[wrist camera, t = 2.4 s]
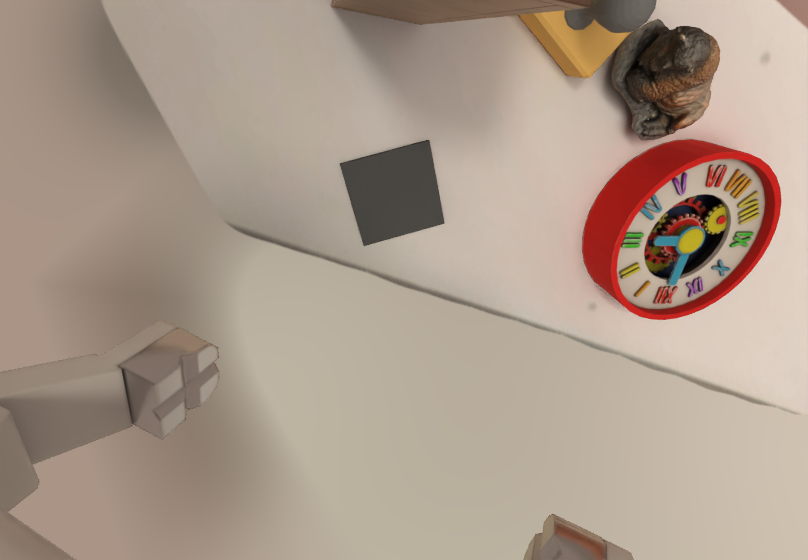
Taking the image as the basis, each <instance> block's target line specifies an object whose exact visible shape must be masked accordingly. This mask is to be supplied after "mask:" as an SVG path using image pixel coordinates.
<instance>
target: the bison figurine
mask: <svg viewBox="0 0 808 560" xmlns="http://www.w3.org/2000/svg"><path fill="white" fill-rule="evenodd" d="M719 56H720V49H719V46H718V44H717V41H716V40H715V39H714V38H713V37H712V36H711V35H709V34H707V33H705V32H704V31H703V30H701V29H700V28H696V27H690V26H680V27H676V29H673V30H669V29H668V28H667V27H666V26H665V25H664V24H663V22H662V21H661V20H659V19H657V20H654V21H651V22H649V23H647V24H645V25H644V26H642V27H641V28H639V29H637V30H635V31H633V32H632V33H630V34H629V35H628V36H627V37H626V38H625V39H624V40H623V41H622V42H621V44H620V46H619V48H618V51H617V54H616V58H615V61H614V65H613V70H612V84H613V86H614V88H615V89H616V90H617V91H619V93H620V94H621V95H622V96H623V98H624V99H625V101H626V103H627V104H628V105H629V107H630V110H631V112H632V115H633V122H632V126H631V128H632V129H633V131H634V132H635V133H636V134H637V135H638V137H639V138H640V139H641V140H651V139H658V138H661V137H664V136H666V135H669V134H673V133H675V131H676V130H678V129H682V128H685V127H687V126H689V125H692V124H693V123H694V122H695V121H697V120H698V119H700V118H701V116H702V115H703V114H704V111H705V110H706V108H707V107H708V105H709V100H710V97H711V91H710V86H711V82H712V79H713V76H714V73H715V72H716V70H717V67H718V65H719V61H720V57H719Z"/></svg>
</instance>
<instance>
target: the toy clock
mask: <svg viewBox="0 0 808 560" xmlns="http://www.w3.org/2000/svg"><path fill="white" fill-rule="evenodd" d="M780 209H781V192H780V186H779V183H778V180H777V177H776V175H775V174H774V172H773V171H772V169H771V168H770V166H768V165H767V164H766V163H765V162H764V161H762V160H761V159H760V158H757V157H755V156H753V155H751V154H748V153H744V152H741V151H737V150H733V149H730V148H726V147H723V146H719V145H715V144H712V143H708V142H704V141H699V140H693V139H687V140H675V141H671V142H667V143H663V144H660V145H658V146H656V147H653V148H651V149H649V150H647V151H645V152H643V153H642V154H640V155H639V156H637V157H635V158H634V159H632V160H631V161H630V162H629V163H627V164H626V165H625V166H624V167H622V168H621V169H620V170H619V171H618V172H617V173H616V174H615V175H614V176H613V177H612V179H611V180H610V181H609V182H608V183H607V184H606V186H605V187H604V188H603V190H602V191H601V193H600V194H599V195H598V197H597V199H596V201H595V203H594V204H593V206H592V208H591V210H590V213H589V215H588V218H587V221H586V224H585V228H584V233H583V239H582V253H583V258H584V263H585V266H586V268H587V270H588V273H589V274H590V276H591V277H592V278H593V280H594V281H595V282H596V283H597V284H599V285H600V286H601V287H602V288H603V289H604V290H606V291H607V292H608V293H609V294H610V295H612V296H613V297H614V298H615V299H616V300H617V301H619V302H620V303H621V304H622V305H623V306H624V307H626V308H627V309H628V310H629V311H630V312H632V313H634V314H636V315H638V316H640V317H644V318H648V319H656V320H666V319H674V318H679V317H683V316H686V315H690V314H692V313H695V312H697V311H699V310H702V309H704V308H706V307H707V306H709V305H711V304H713V303H715V302H716V301H718V300H719V299H721V298H722V297H723V296H725V295H726V294H728V293H729V292H730V291H731V290H732V289H734V288H735V287H736V286H737V285H738V284H739V283H740V282H741V281H742V280H743V279H744V278H745V277H746V276H747V275H748V274H749V273H750V272H751V271H752V269H753V268H754V267H755V265H756V264H757V263H758V261H759V260H760V259H761V258H762V256H763V254H764V252H765V251H766V249H767V247H768V246H769V244H770V242H771V240H772V237H773V235H774V233H775V230H776V227H777V224H778V220H779V216H780Z"/></svg>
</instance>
